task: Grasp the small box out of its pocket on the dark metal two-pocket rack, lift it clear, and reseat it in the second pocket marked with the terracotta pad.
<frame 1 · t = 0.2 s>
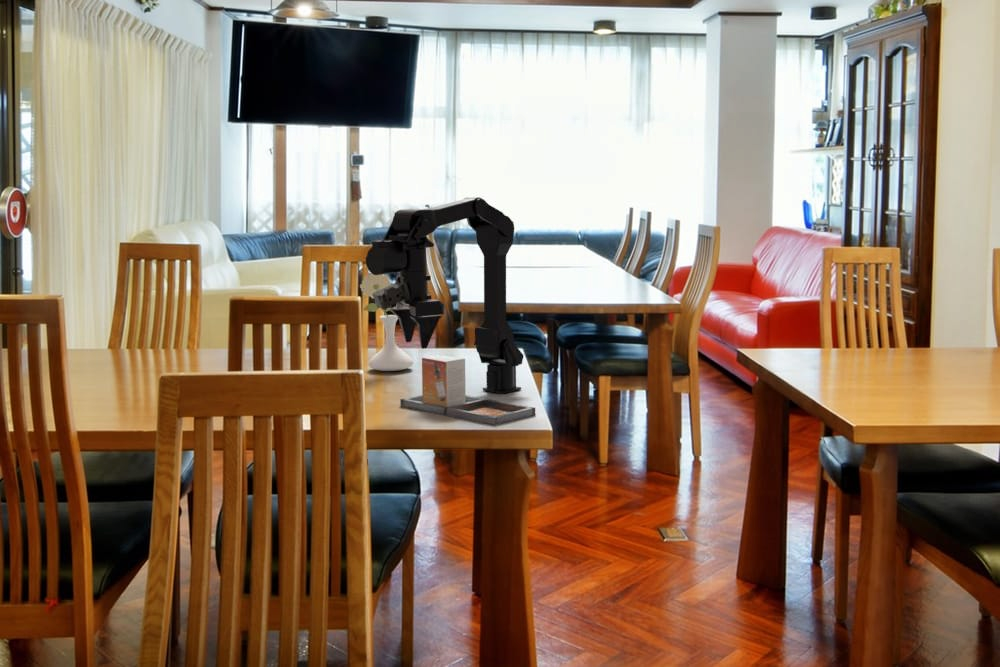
hand: (416, 345, 226), 14 cm above the table, fingers open, 9 cm apart
pocket rack: (466, 410, 227), on the table
small box: (444, 407, 231), resting in pocket rack
flower in vase: (388, 370, 276), on the table
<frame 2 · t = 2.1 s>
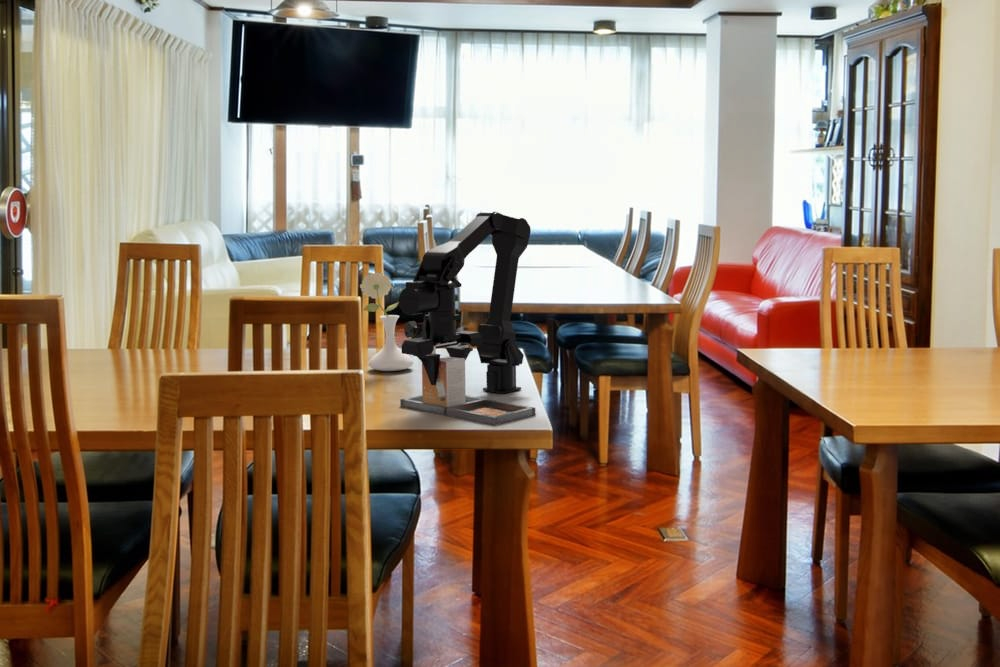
hand: (443, 382, 230), 5 cm above the table, fingers closed on small box, 6 cm apart
small box: (444, 407, 231), resting in pocket rack, touching gripper
everything else where it was.
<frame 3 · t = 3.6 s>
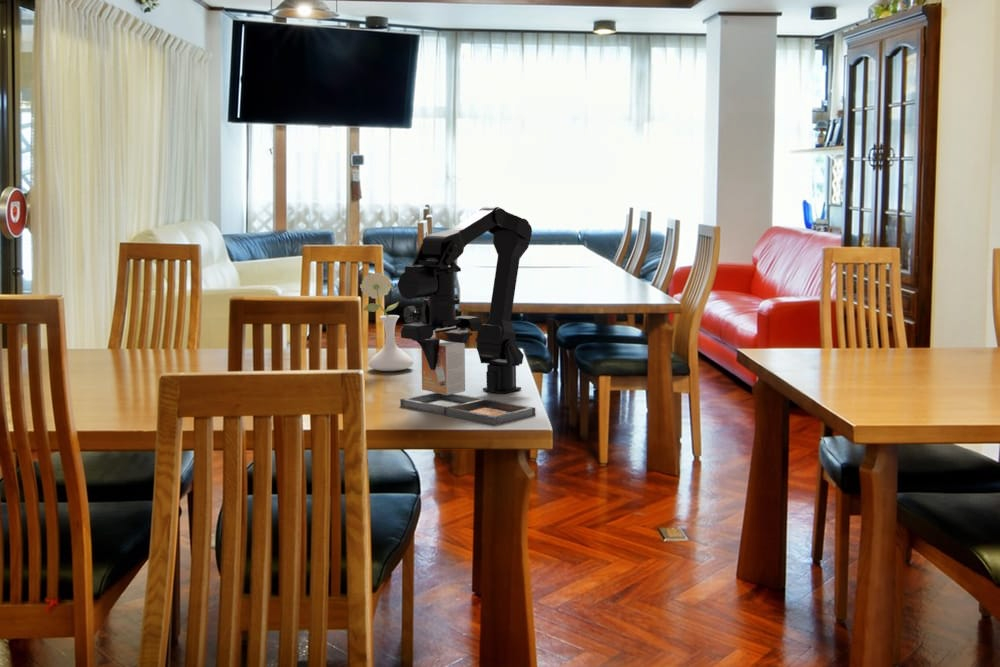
hand: (443, 367, 230), 8 cm above the table, fingers closed on small box, 6 cm apart
small box: (443, 392, 231), point 3 cm above the table, touching gripper
everything else where it was.
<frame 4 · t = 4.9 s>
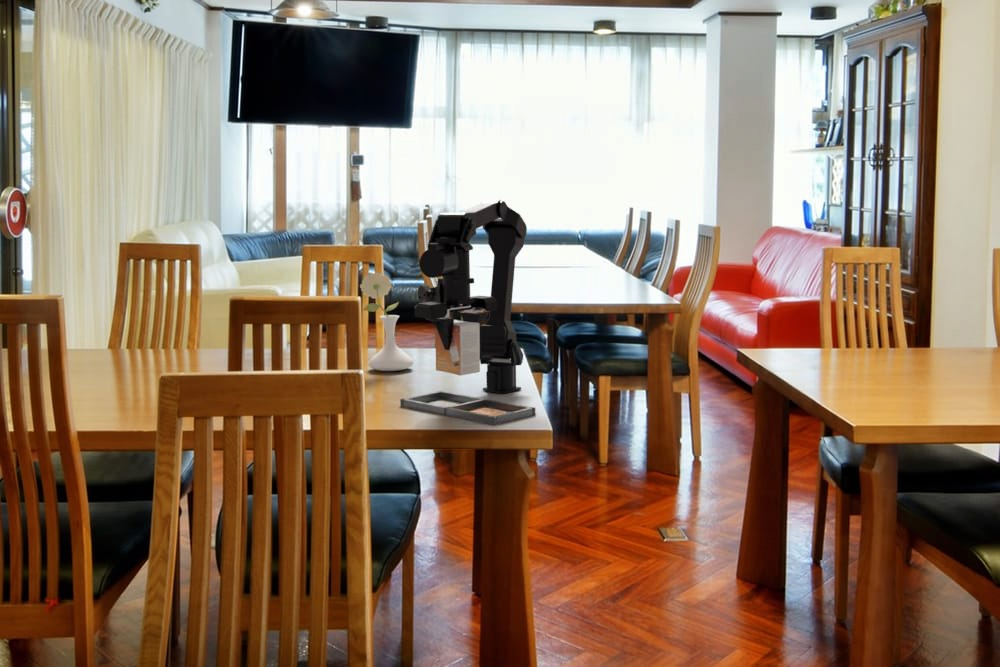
hand: (457, 348, 226), 13 cm above the table, fingers closed on small box, 6 cm apart
small box: (458, 372, 227), point 8 cm above the table, touching gripper
everything else where it was.
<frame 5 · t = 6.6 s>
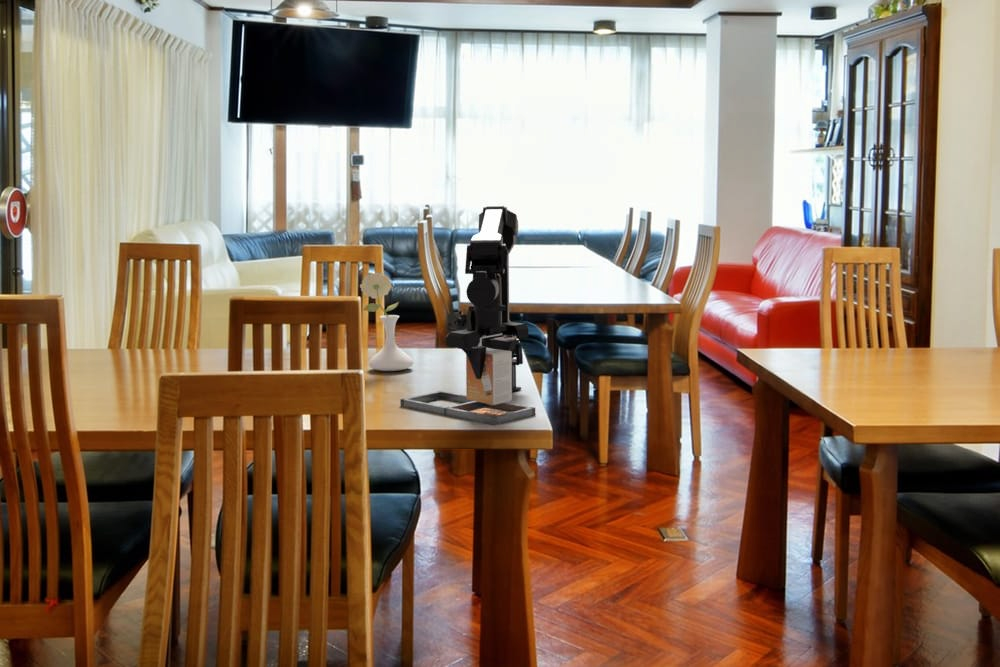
hand: (488, 376, 221), 8 cm above the table, fingers closed on small box, 6 cm apart
small box: (489, 401, 222), point 3 cm above the table, touching gripper
everything else where it was.
when the fingers open (6 cm above the table, at t = 7.9 s): small box stays where it is, resting on pocket rack.
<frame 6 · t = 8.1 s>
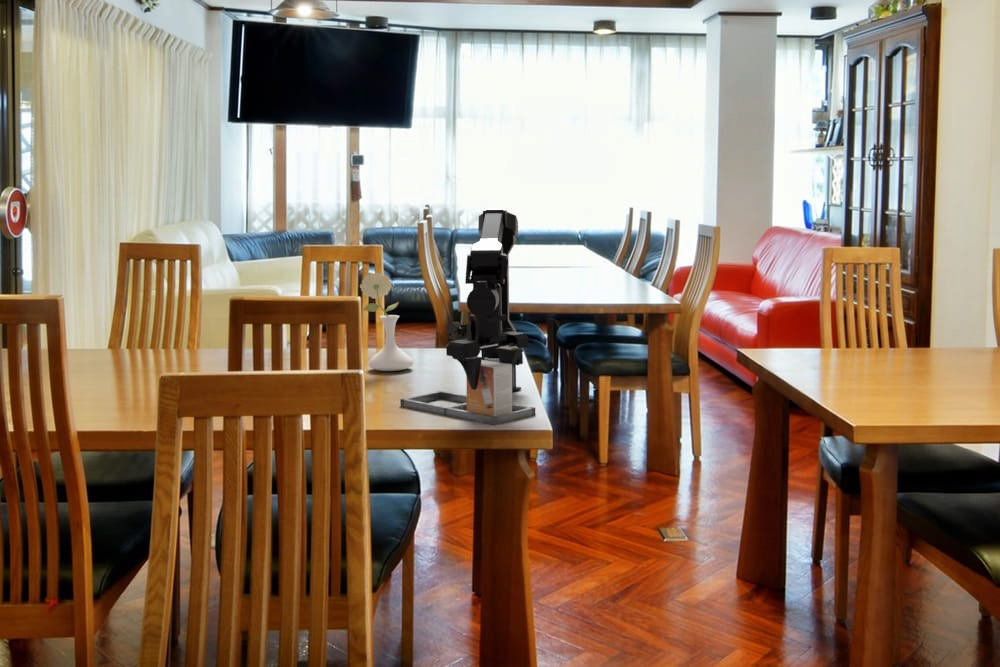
hand: (489, 386, 221), 6 cm above the table, fingers open, 8 cm apart
small box: (489, 414, 222), resting on pocket rack
everything else where it was.
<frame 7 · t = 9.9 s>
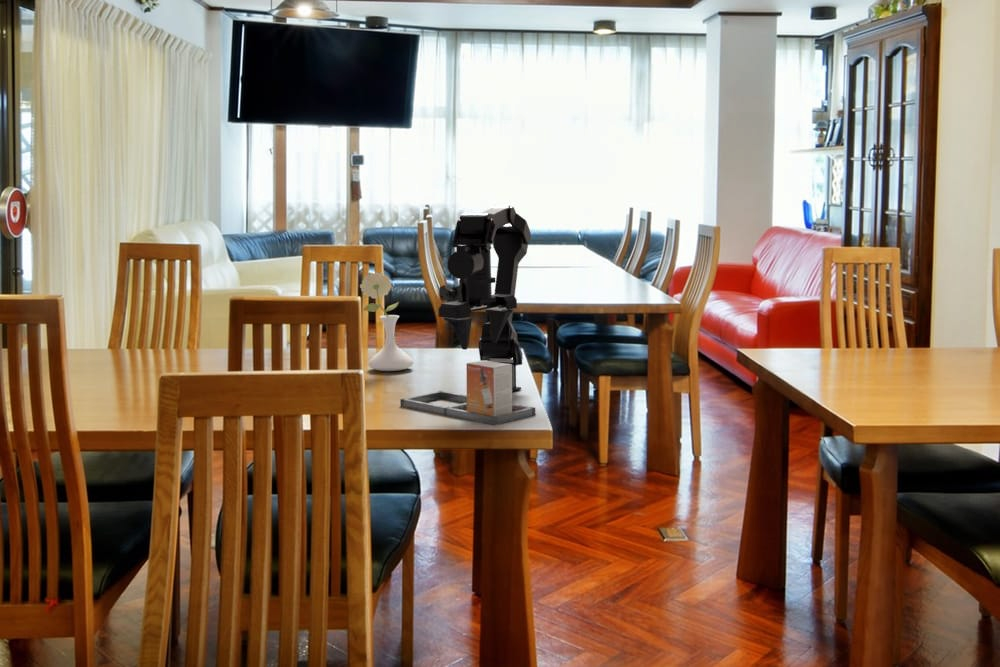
hand: (479, 346, 231), 13 cm above the table, fingers open, 9 cm apart
nothing on the table moved.
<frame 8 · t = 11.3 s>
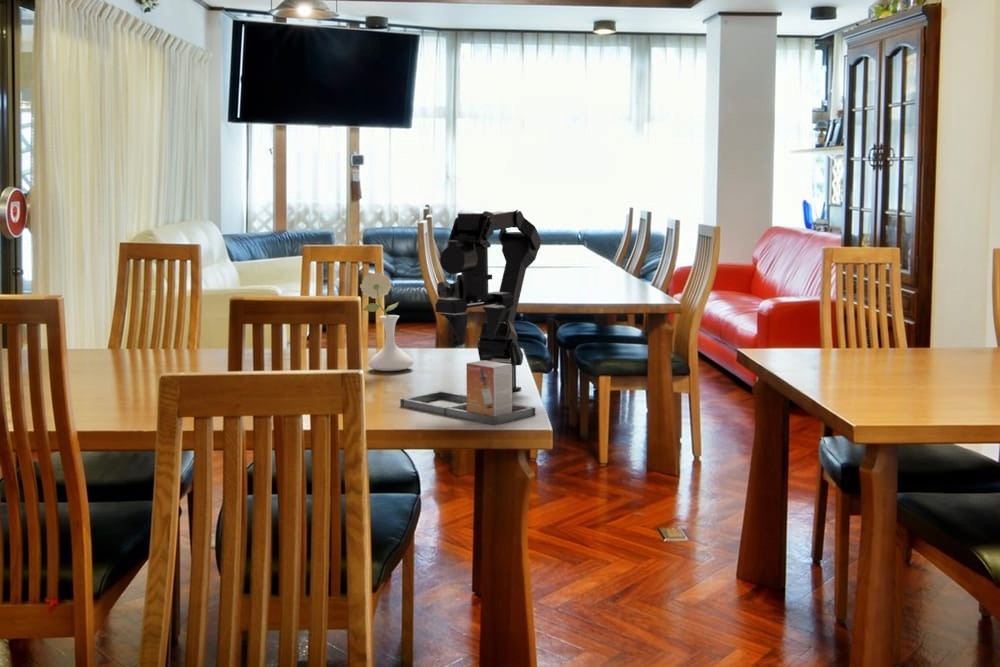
hand: (476, 342, 234), 13 cm above the table, fingers open, 9 cm apart
nothing on the table moved.
at the end: small box 0.1 cm from the target spot on the pocket rack, point 0.0 cm above the pocket rack's base; small box tilted 0°; the gripper is holding nothing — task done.
